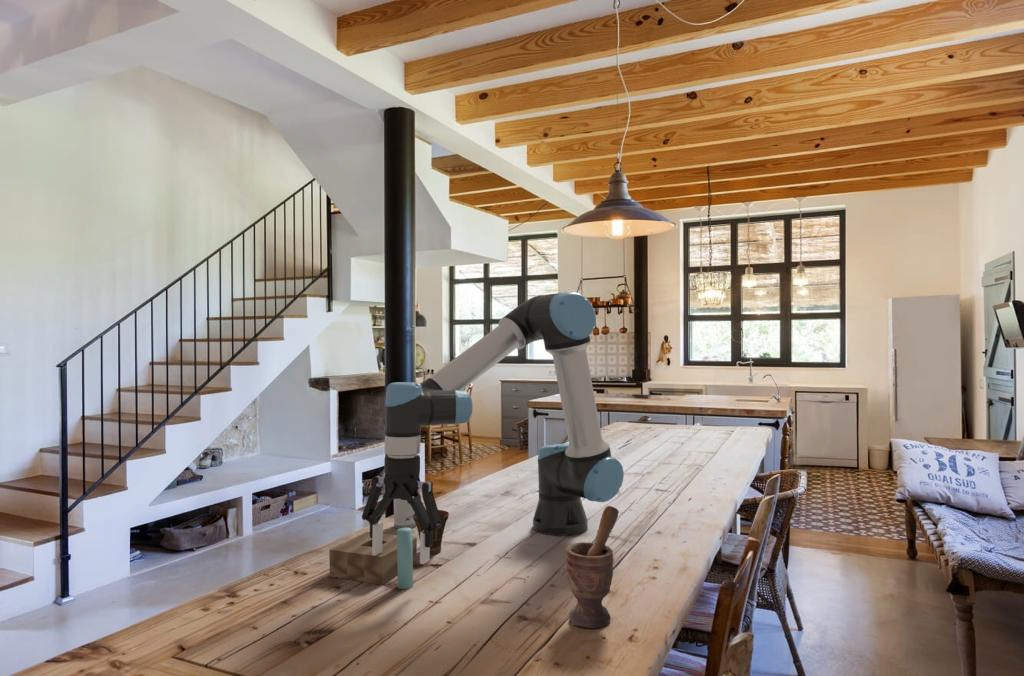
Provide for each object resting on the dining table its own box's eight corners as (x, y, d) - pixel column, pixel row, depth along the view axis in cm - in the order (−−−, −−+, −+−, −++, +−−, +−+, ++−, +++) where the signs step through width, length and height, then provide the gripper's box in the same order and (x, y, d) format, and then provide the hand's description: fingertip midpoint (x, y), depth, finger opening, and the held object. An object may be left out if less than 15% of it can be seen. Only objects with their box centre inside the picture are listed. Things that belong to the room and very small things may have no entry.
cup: (458, 543, 159) (454, 505, 158) (443, 559, 150) (438, 520, 149) (427, 541, 162) (422, 504, 161) (410, 557, 153) (406, 518, 152)
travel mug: (413, 530, 173) (411, 457, 173) (390, 529, 174) (389, 457, 175) (420, 523, 179) (419, 453, 179) (399, 522, 181) (398, 453, 181)
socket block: (416, 563, 147) (416, 537, 147) (382, 584, 134) (382, 556, 134) (367, 556, 152) (366, 531, 152) (329, 576, 139) (329, 549, 139)
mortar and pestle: (584, 601, 124) (582, 500, 124) (626, 609, 120) (624, 505, 120) (559, 624, 114) (557, 514, 114) (604, 634, 110) (602, 520, 110)
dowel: (415, 584, 134) (414, 528, 134) (407, 590, 131) (406, 532, 131) (403, 582, 135) (402, 527, 135) (394, 588, 132) (393, 531, 132)
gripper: (459, 456, 132) (457, 560, 132) (367, 447, 141) (365, 544, 141) (442, 462, 125) (440, 572, 125) (346, 452, 134) (344, 554, 134)
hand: (400, 557), depth 133 cm, fingers open, 11 cm apart
